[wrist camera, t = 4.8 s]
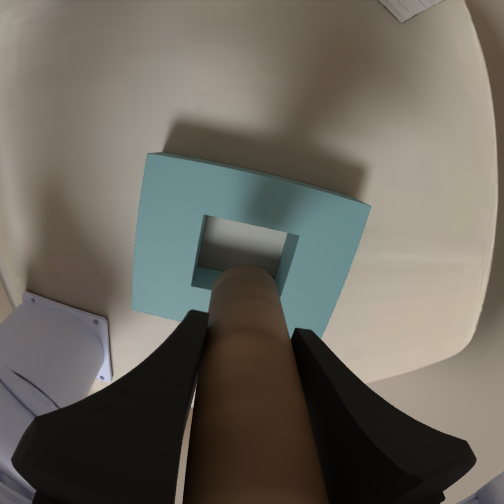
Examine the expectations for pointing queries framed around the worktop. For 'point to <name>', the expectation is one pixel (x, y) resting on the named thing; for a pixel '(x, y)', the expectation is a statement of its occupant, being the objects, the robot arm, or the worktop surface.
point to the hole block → (246, 211)
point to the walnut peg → (250, 403)
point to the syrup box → (408, 7)
